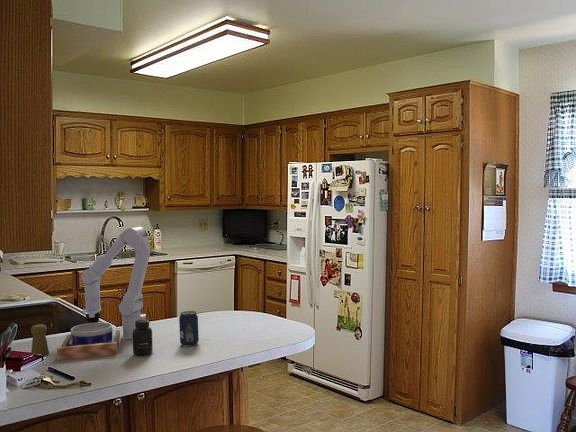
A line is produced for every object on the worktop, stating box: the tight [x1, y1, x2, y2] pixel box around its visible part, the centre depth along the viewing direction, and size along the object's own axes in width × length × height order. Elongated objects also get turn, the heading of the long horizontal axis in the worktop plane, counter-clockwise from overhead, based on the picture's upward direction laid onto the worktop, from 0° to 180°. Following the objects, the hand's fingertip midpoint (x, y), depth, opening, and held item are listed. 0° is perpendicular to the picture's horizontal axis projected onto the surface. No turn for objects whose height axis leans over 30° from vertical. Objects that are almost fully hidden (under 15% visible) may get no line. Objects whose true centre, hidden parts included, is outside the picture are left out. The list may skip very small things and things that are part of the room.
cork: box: [30, 323, 50, 356], centre depth 199 cm, size 6×6×11 cm
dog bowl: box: [70, 321, 113, 346], centre depth 214 cm, size 15×15×6 cm
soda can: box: [178, 310, 200, 347], centre depth 208 cm, size 7×7×12 cm
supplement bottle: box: [132, 319, 154, 357], centre depth 196 cm, size 7×7×12 cm
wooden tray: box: [56, 329, 121, 361], centre depth 208 cm, size 20×28×4 cm
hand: (94, 331), depth 223 cm, fingers closed
